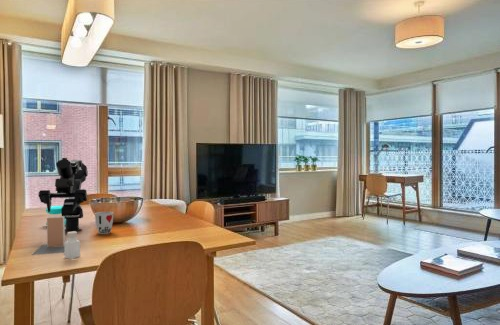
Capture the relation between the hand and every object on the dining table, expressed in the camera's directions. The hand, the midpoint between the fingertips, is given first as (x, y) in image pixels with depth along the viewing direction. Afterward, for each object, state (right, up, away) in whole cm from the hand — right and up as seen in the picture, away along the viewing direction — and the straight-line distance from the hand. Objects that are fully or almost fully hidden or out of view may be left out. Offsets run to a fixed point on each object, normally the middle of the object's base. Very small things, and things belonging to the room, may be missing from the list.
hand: (60, 211), depth 151 cm
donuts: (-21, -13, +35) cm, 43 cm away
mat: (+3, -14, -10) cm, 18 cm away
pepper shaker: (+16, -14, -21) cm, 30 cm away
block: (+2, -13, -7) cm, 15 cm away
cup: (+11, -13, +18) cm, 25 cm away
